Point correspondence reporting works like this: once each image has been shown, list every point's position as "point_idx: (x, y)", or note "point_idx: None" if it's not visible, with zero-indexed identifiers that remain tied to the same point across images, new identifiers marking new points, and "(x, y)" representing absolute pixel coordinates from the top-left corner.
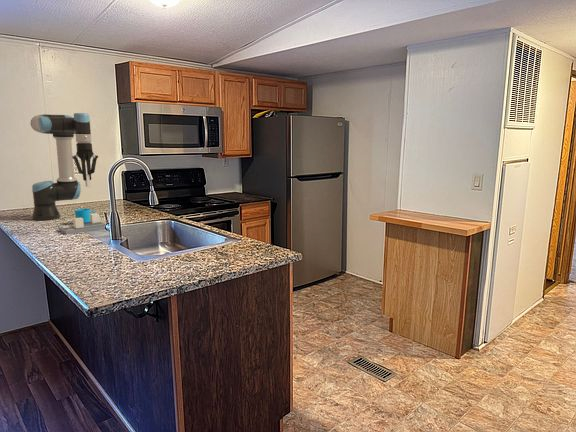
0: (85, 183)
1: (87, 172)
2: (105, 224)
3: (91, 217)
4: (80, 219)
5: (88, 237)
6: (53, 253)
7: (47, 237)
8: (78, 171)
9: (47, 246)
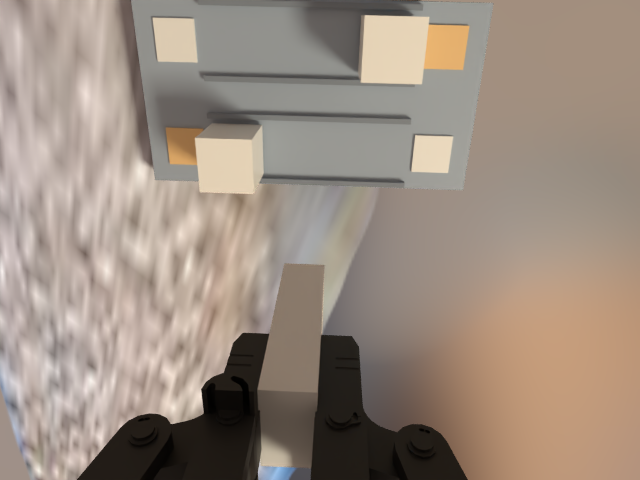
0: (280, 286)
1: (313, 438)
2: (398, 187)
3: (360, 62)
4: (236, 191)
5: (241, 311)
6: (72, 443)
7: (64, 166)
8: (103, 456)
9: (57, 343)
